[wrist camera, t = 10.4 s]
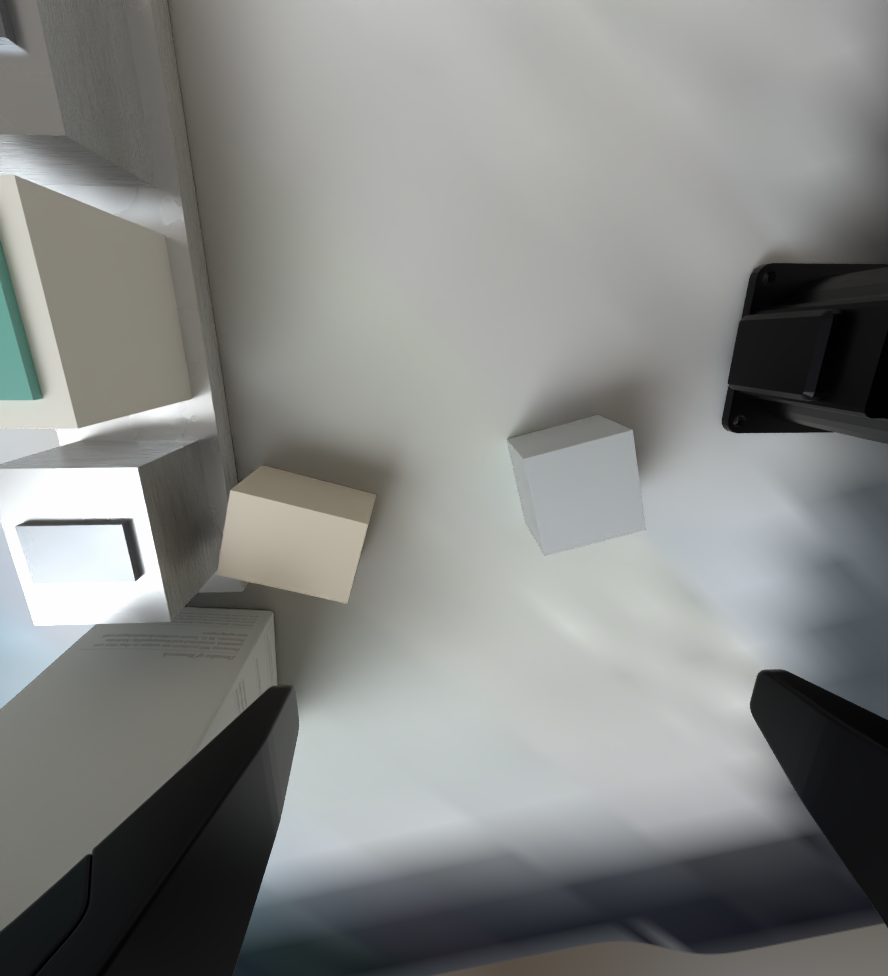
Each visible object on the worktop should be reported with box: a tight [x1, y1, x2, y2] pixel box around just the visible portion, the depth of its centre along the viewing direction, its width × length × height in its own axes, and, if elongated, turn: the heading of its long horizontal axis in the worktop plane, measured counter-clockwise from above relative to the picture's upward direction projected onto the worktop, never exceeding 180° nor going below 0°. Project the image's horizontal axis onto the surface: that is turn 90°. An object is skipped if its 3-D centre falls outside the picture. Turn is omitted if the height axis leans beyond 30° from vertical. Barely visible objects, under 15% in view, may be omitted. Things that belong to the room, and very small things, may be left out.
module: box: [0, 174, 192, 429], centre depth 13 cm, size 4×6×6 cm
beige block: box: [217, 465, 376, 604], centre depth 19 cm, size 5×4×4 cm
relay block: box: [507, 415, 646, 556], centre depth 18 cm, size 4×4×4 cm
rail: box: [0, 0, 249, 625], centre depth 15 cm, size 6×22×6 cm, turn 0°
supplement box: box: [0, 607, 277, 931], centre depth 16 cm, size 7×7×13 cm
